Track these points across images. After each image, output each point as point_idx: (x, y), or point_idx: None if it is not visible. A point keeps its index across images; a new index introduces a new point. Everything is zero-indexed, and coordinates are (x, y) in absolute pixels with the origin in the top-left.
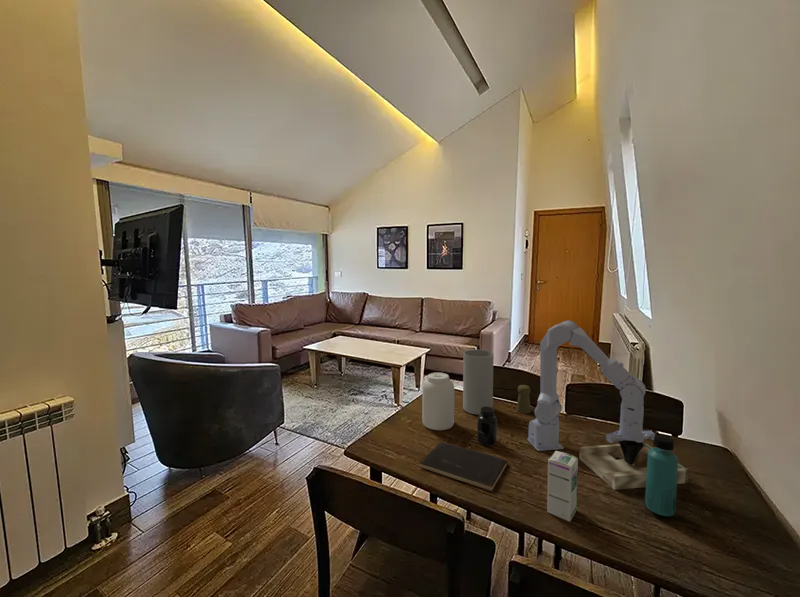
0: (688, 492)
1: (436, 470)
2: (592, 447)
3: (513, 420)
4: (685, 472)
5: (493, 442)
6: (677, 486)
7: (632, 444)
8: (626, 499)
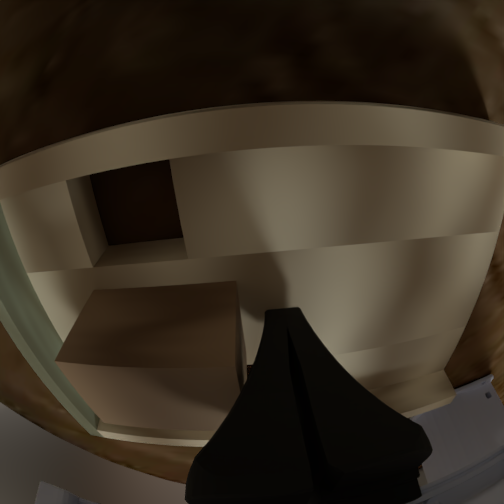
0: (46, 61)
1: None
2: (404, 413)
3: None
4: None
5: None
6: None
7: (357, 479)
8: (481, 40)
